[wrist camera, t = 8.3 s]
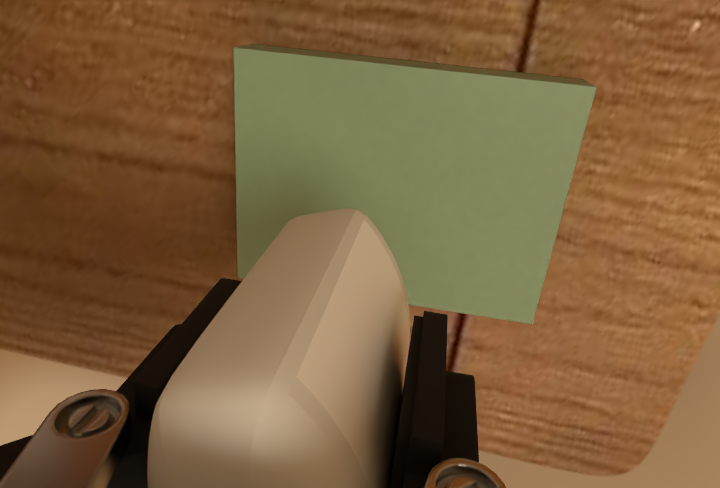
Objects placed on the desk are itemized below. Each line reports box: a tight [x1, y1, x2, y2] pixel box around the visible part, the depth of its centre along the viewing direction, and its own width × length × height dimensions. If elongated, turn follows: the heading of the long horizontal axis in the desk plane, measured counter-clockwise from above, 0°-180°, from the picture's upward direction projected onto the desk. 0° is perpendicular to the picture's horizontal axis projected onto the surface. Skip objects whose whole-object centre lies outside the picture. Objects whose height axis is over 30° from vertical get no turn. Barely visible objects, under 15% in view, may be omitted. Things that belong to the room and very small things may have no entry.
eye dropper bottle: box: [147, 208, 410, 488], centre depth 10 cm, size 4×6×12 cm
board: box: [234, 44, 596, 324], centre depth 26 cm, size 12×16×2 cm
